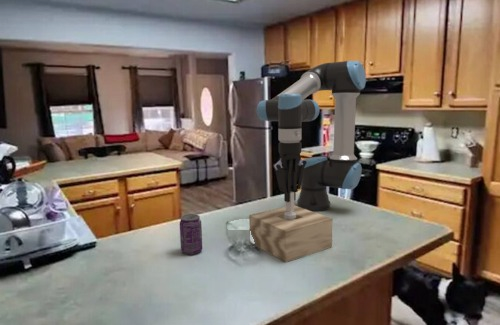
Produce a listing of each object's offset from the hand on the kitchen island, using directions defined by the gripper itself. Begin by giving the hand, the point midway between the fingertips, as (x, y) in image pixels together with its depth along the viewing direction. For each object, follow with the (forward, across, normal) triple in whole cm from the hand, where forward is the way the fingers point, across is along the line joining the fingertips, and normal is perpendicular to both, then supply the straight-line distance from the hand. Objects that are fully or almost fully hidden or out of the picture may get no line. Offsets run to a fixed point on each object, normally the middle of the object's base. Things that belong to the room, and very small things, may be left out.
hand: (290, 210), depth 122 cm
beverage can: (+12, -30, +15) cm, 36 cm away
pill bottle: (+11, 0, 0) cm, 11 cm away
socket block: (+12, 0, 0) cm, 12 cm away
